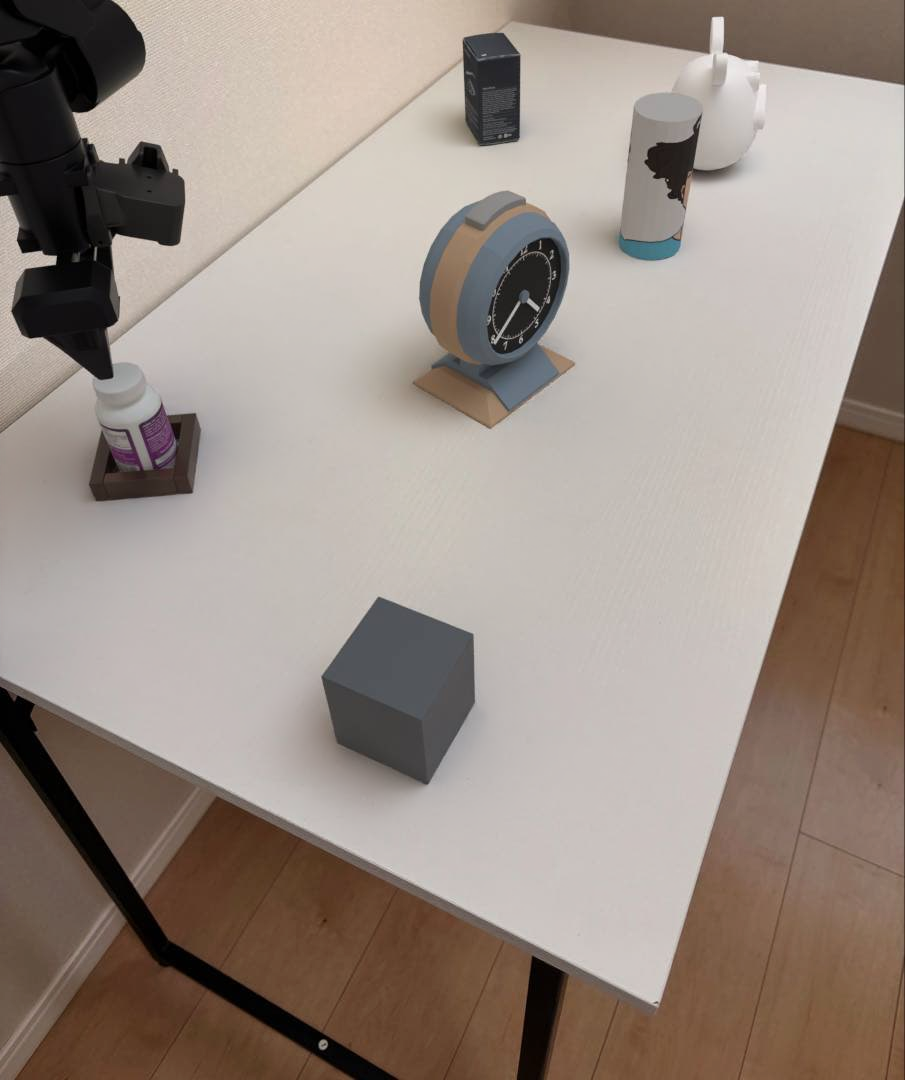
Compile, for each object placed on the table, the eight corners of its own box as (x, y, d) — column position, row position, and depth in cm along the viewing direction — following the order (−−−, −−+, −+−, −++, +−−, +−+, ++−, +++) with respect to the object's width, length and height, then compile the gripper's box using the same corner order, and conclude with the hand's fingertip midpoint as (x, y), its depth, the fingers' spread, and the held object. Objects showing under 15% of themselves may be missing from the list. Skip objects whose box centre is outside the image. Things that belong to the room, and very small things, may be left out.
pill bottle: (172, 436, 85) (143, 348, 78) (188, 472, 82) (159, 384, 74) (113, 455, 83) (77, 368, 76) (126, 493, 80) (90, 405, 73)
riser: (336, 742, 63) (320, 676, 57) (388, 665, 67) (378, 595, 62) (427, 785, 61) (421, 720, 55) (475, 702, 65) (474, 633, 59)
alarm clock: (483, 434, 84) (482, 257, 71) (405, 388, 88) (391, 214, 75) (581, 359, 91) (597, 185, 77) (504, 320, 95) (507, 150, 82)
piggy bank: (770, 182, 112) (801, 49, 101) (676, 192, 111) (696, 59, 100) (734, 135, 121) (759, 8, 109) (645, 145, 120) (661, 17, 109)
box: (520, 141, 121) (522, 53, 113) (478, 147, 121) (477, 59, 113) (504, 115, 127) (505, 29, 119) (463, 120, 126) (461, 35, 118)
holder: (95, 501, 80) (88, 484, 78) (110, 436, 85) (103, 420, 84) (192, 492, 80) (187, 476, 78) (201, 429, 85) (196, 412, 84)
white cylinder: (688, 256, 102) (712, 118, 91) (628, 263, 102) (645, 125, 90) (669, 224, 107) (690, 89, 95) (611, 231, 106) (625, 95, 95)
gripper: (162, 197, 56) (219, 401, 67) (160, 72, 68) (209, 262, 80) (-33, 223, 55) (59, 426, 66) (2, 90, 67) (74, 281, 78)
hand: (108, 341), depth 73 cm, fingers open, 9 cm apart
